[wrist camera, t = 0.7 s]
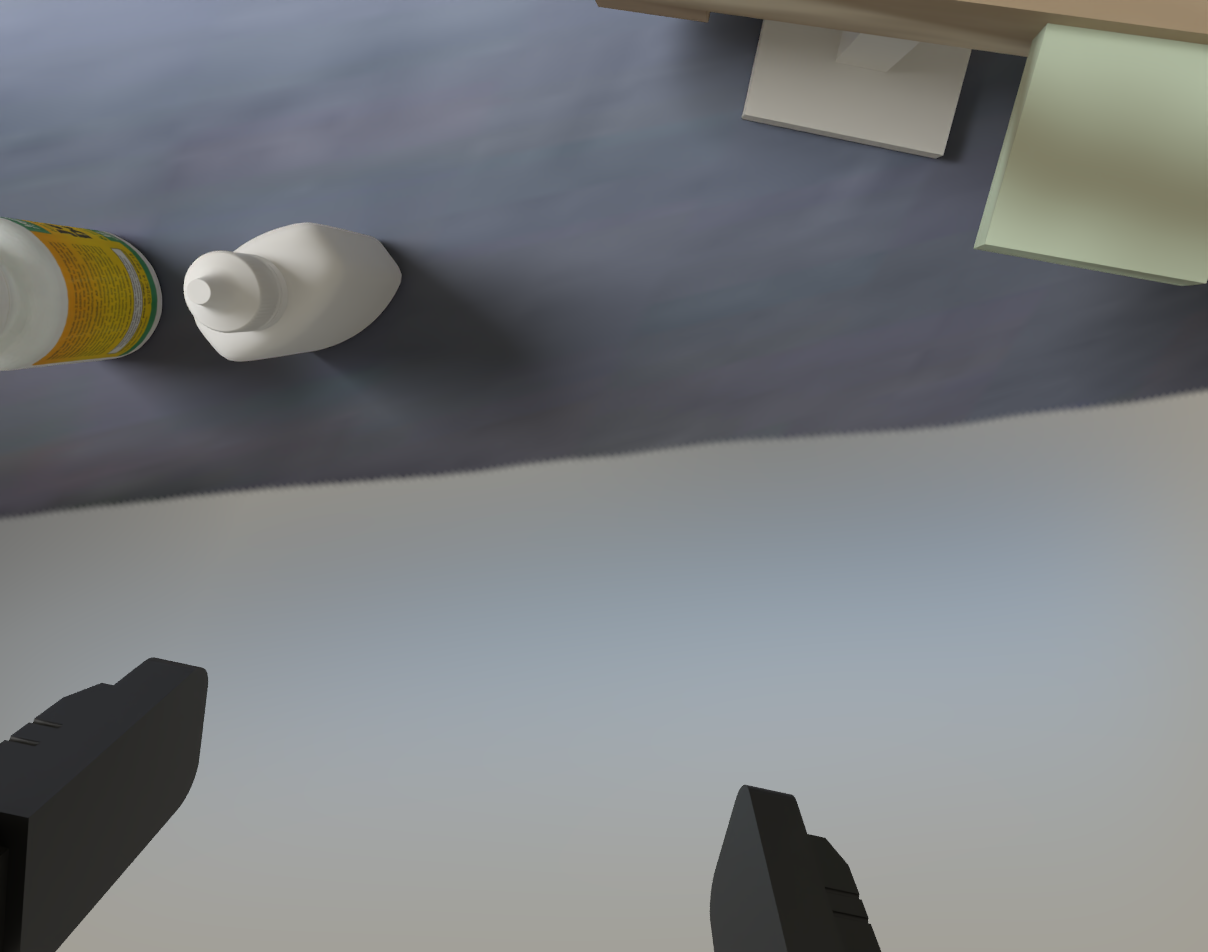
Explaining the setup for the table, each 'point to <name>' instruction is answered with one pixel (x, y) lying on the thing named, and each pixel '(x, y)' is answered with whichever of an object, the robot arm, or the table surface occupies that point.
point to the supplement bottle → (72, 295)
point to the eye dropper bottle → (290, 291)
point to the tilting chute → (1064, 119)
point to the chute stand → (856, 86)
